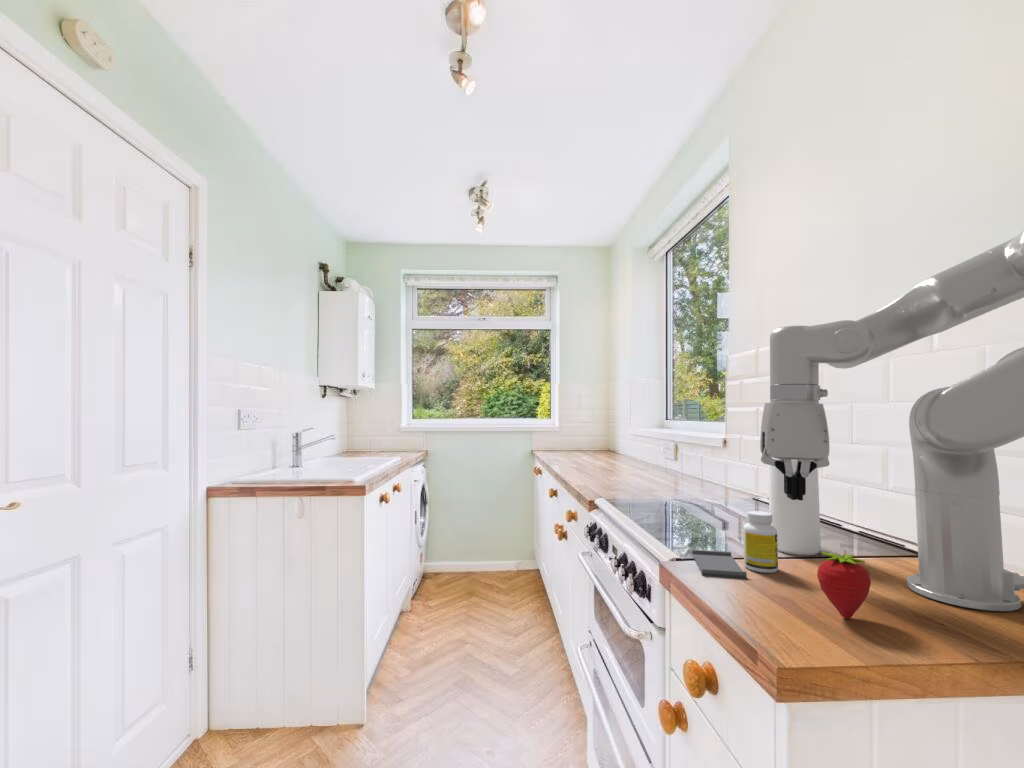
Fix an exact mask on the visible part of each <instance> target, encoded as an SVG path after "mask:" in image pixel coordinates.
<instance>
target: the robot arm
mask: <svg viewBox="0 0 1024 768" xmlns="http://www.w3.org/2000/svg"><path fill="white" fill-rule="evenodd" d="M1023 298H1024V230H1022V231H1021V232H1020V233H1019V234H1018V235H1017V236H1015V237H1013V238H1011V239H1009V240H1007V241H1004V242H1002V243H1001V244H998V245H996V246H994V247H991V248H990V249H988V250H986V251H984V252H982V253H979V254H977V255H975V256H973V257H971V258H968V259H967V260H964V261H962V262H959V263H958V264H956V265H954V266H951V267H949V268H947V269H944V270H943V271H941V272H938V273H936V274H934V275H931V276H929V277H927V278H926V279H924V280H923V281H921V282H919V283H917V284H915V286H913V287H912V288H910V289H909V290H908V291H907V292H905V293H904V294H903V295H901V296H899V297H898V298H897V299H895V300H893V301H892V302H891V303H889V304H887V305H886V306H884V307H881V308H880V309H878V310H876V311H874V312H872V313H870V314H868V315H866V316H863V317H862V318H859V319H857V320H849V319H848V320H847V319H844V320H837V321H833V322H832V321H831V322H827V323H822V324H815V325H789V326H788V325H787V326H781V327H780V326H779V327H778V328H775V329H773V330H772V332H771V333H770V336H769V400H770V401H769V402H765V403H764V406H763V413H762V417H761V426H760V438H759V439H760V441H759V443H760V444H759V447H760V453H761V458H760V462H761V463H762V464H765V465H767V466H768V465H772V466H775V467H776V468H777V469H778V470H779V471H780V472H781V473H782V474H783V475H784V493H785V494H787V497H788V498H790V499H792V500H796V499H797V500H803V495H805V494H806V477H808V475H809V474H810V473H811V472H812V471H813V470H814V469H815V468H818V469H821V468H825V467H829V466H830V461H829V455H830V434H829V426H828V421H827V415H826V411H825V407H824V404H823V403H820V401H821V398H827V397H828V396H829V395H828V394H829V392H828V390H827V389H823V388H821V385H819V384H820V383H819V374H820V373H819V365H820V364H827V365H829V366H830V367H833V368H834V369H835V368H836V369H846V370H847V369H850V368H851V369H852V368H854V367H857V366H860V365H862V364H864V363H867V362H869V361H871V360H874V359H876V358H878V357H881V356H883V355H886V354H888V353H890V352H893V351H895V350H898V349H901V348H903V347H905V346H907V345H910V344H912V343H914V342H916V341H919V340H922V339H924V338H928V337H930V336H933V335H936V334H940V333H942V332H945V331H947V330H950V329H952V328H954V327H956V326H959V325H961V324H965V323H966V322H969V321H971V320H973V319H975V318H978V317H980V316H983V315H985V314H986V313H990V312H992V311H993V310H997V309H999V308H1001V307H1005V306H1006V305H1009V304H1011V303H1014V302H1016V301H1019V300H1021V299H1023ZM908 420H909V421H908V427H909V436H910V442H911V443H910V444H911V450H912V458H913V459H912V460H913V472H914V473H913V474H914V475H913V476H914V498H915V519H916V535H917V540H916V541H917V557H918V558H917V559H918V560H917V561H918V573H915V574H910V575H908V576H907V578H906V585H907V587H908V588H910V590H911V591H913V592H915V593H916V594H919V595H920V596H923V597H926V598H929V599H932V600H934V601H938V602H941V603H945V604H949V605H953V606H957V607H962V608H966V609H967V608H968V609H972V610H973V609H974V610H981V611H990V612H1013V611H1017V610H1019V609H1021V608H1022V599H1021V597H1020V596H1019V595H1018V594H1016V593H1015V592H1019V591H1020V590H1021V589H1022V590H1023V589H1024V575H1020V573H1018V572H1013V571H1010V570H1007V569H1005V568H1004V566H1005V565H1004V550H1003V536H1002V533H1003V532H1002V520H1001V518H1002V517H1001V504H1000V494H1001V493H1000V492H1001V491H1000V480H999V479H1000V478H999V469H998V465H997V464H998V463H997V458H996V453H995V449H997V448H1000V447H1002V446H1005V445H1007V444H1009V443H1013V442H1015V441H1017V440H1020V439H1022V438H1024V346H1023V347H1019V348H1017V349H1015V350H1013V351H1011V352H1009V353H1007V354H1006V355H1005V356H1003V357H1002V358H1000V359H999V360H998V361H997V362H996V363H995V364H992V365H991V366H989V367H987V368H985V369H983V370H980V371H979V372H977V373H974V374H973V375H971V376H968V377H967V378H965V379H963V380H961V381H959V382H957V383H954V384H952V385H950V386H946V387H945V386H944V387H940V388H936V389H932V390H930V391H928V392H925V394H923V395H921V396H920V397H919V398H917V400H916V401H915V402H914V403H913V405H912V407H911V409H910V413H909V418H908ZM772 457H773V458H778V459H779V460H776V459H773V458H772ZM791 459H797V465H796V471H795V475H794V473H793V467H792V461H791ZM811 460H814V461H811Z"/></svg>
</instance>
